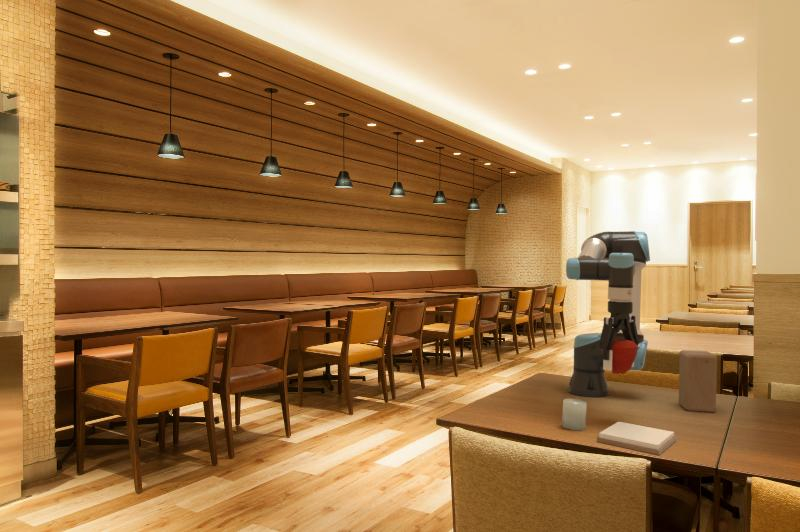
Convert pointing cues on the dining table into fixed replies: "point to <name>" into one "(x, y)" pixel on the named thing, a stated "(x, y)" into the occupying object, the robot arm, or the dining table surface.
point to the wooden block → (697, 380)
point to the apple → (622, 355)
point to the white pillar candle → (574, 414)
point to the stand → (637, 437)
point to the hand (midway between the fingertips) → (618, 368)
